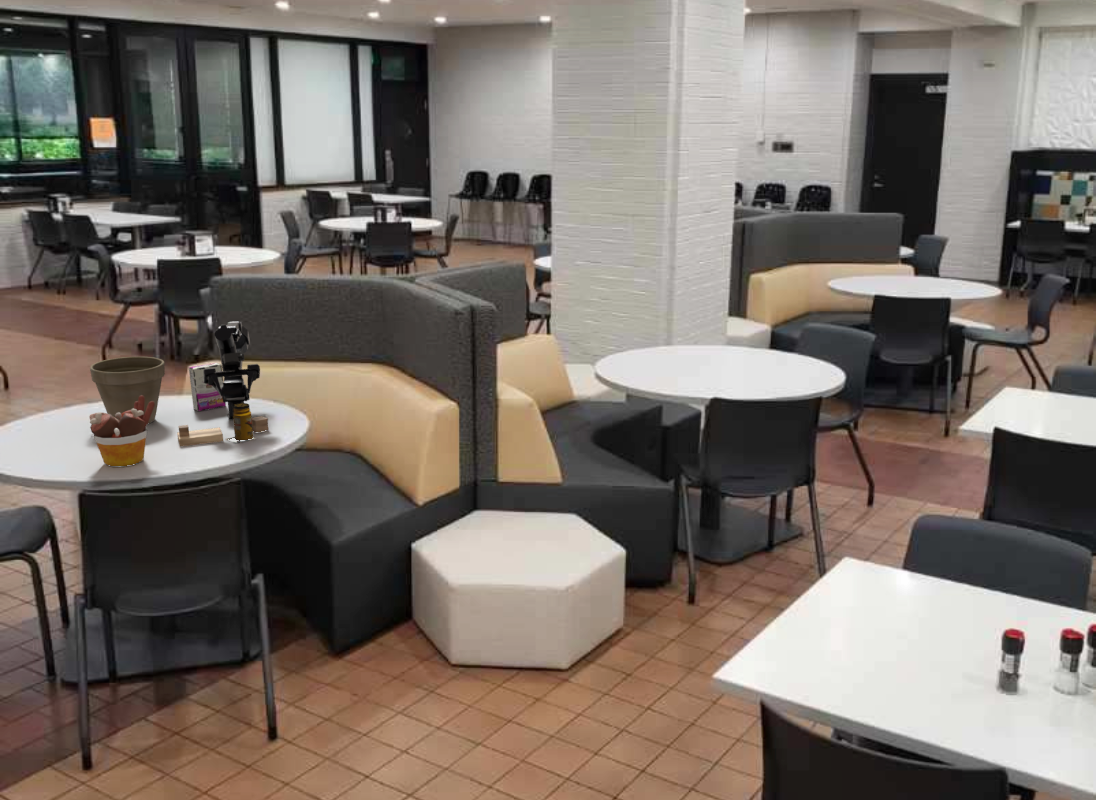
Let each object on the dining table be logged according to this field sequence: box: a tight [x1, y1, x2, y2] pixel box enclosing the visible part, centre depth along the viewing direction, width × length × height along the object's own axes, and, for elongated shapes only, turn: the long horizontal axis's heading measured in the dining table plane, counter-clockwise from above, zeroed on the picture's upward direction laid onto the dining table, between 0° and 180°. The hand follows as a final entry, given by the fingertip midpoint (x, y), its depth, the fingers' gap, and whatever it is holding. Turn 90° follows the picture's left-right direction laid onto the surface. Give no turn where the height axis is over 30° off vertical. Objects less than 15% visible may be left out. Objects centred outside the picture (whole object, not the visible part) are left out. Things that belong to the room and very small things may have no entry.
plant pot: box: [89, 356, 166, 424], centre depth 387 cm, size 25×25×22 cm
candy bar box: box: [188, 362, 227, 412], centre depth 406 cm, size 11×5×16 cm, turn 130°
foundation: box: [177, 424, 224, 447], centre depth 366 cm, size 9×14×6 cm, turn 112°
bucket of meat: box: [89, 395, 155, 467], centre depth 342 cm, size 20×16×20 cm
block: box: [252, 415, 269, 433], centre depth 376 cm, size 4×4×4 cm
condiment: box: [225, 402, 254, 441], centre depth 365 cm, size 7×8×12 cm
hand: (235, 394), depth 371 cm, fingers open, 9 cm apart
